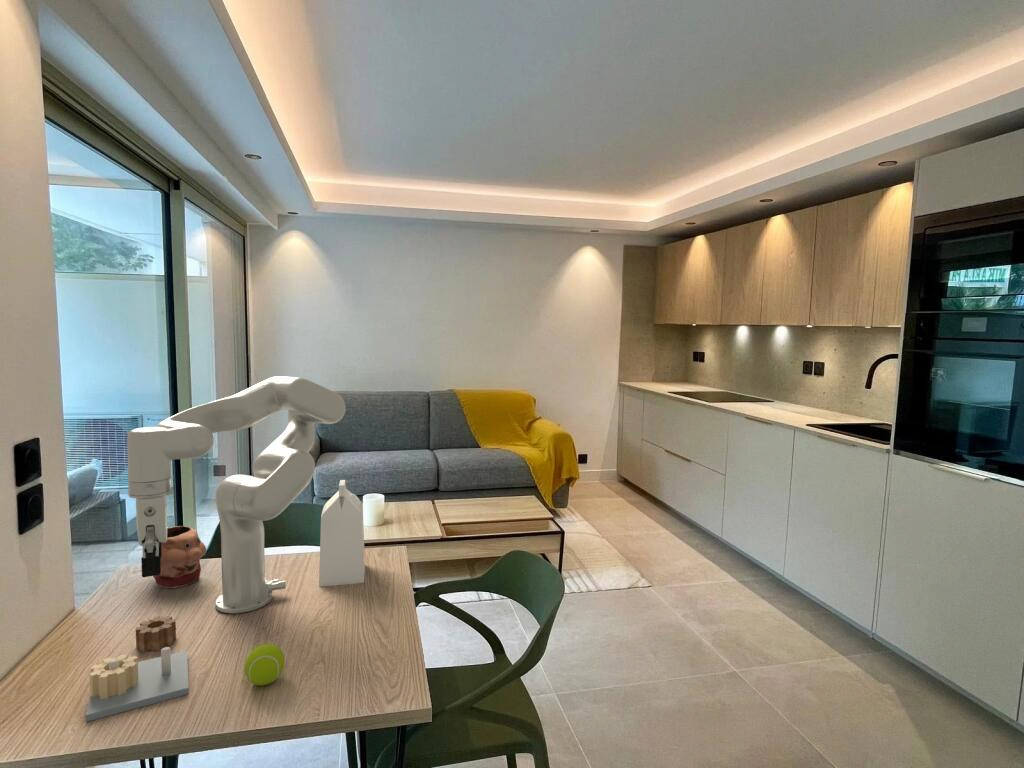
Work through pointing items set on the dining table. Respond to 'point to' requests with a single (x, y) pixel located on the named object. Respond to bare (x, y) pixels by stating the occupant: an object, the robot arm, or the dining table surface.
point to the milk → (342, 540)
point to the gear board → (136, 682)
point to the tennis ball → (264, 664)
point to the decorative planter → (180, 557)
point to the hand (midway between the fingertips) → (152, 567)
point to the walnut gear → (155, 633)
